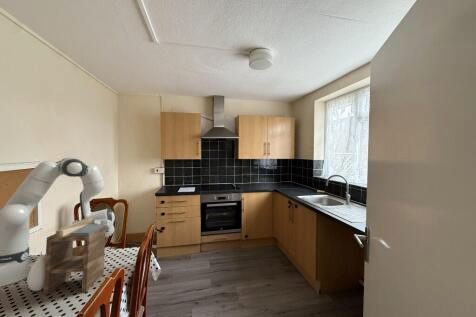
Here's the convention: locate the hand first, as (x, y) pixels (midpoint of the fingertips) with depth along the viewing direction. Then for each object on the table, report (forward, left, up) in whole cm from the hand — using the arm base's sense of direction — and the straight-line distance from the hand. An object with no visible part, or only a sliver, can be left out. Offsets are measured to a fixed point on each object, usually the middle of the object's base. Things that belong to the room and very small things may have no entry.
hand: (85, 221), depth 106 cm
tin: (-11, +13, -28) cm, 33 cm away
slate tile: (+9, -12, -2) cm, 15 cm away
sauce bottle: (-9, -15, -28) cm, 33 cm away
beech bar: (0, -7, -2) cm, 7 cm away
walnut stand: (+5, -12, -28) cm, 31 cm away
